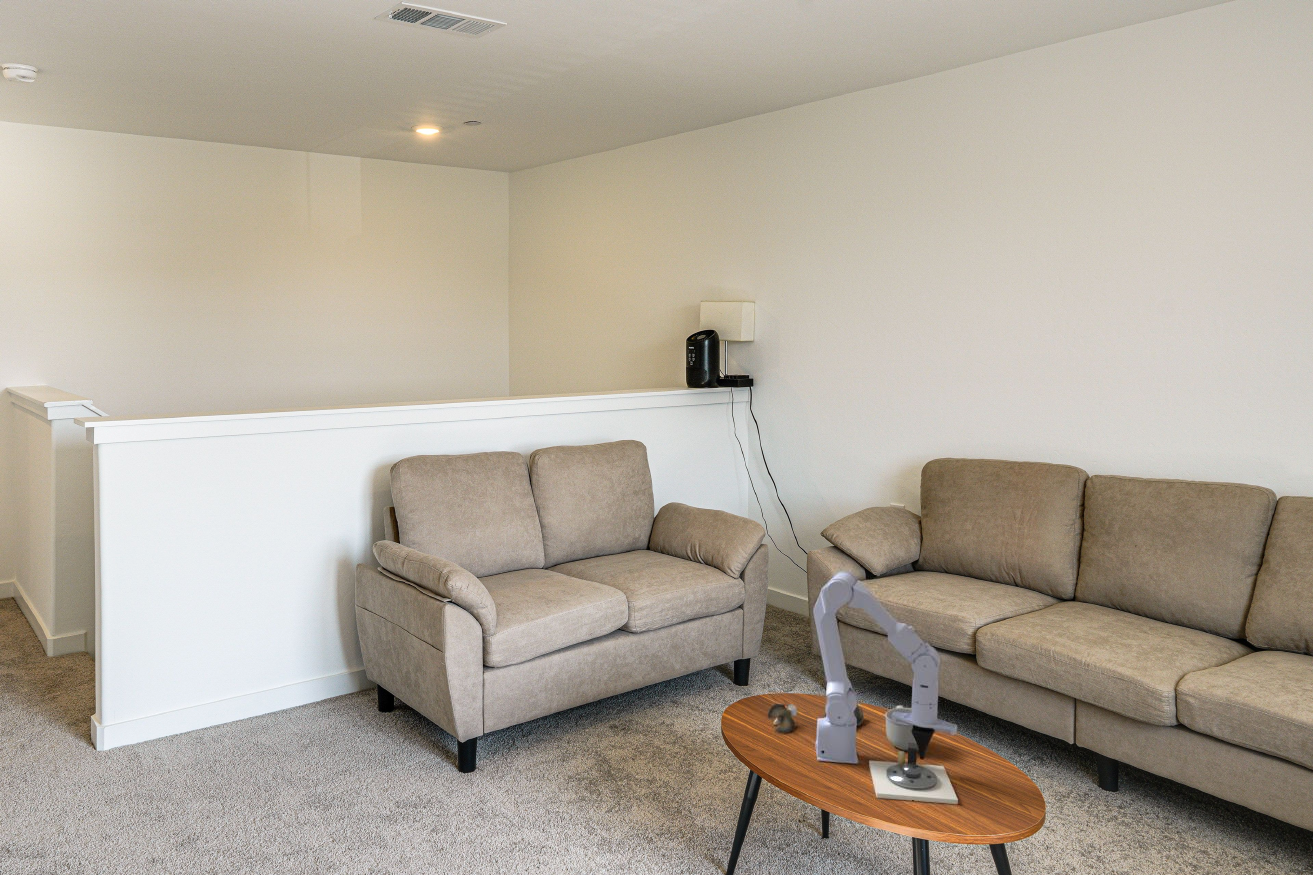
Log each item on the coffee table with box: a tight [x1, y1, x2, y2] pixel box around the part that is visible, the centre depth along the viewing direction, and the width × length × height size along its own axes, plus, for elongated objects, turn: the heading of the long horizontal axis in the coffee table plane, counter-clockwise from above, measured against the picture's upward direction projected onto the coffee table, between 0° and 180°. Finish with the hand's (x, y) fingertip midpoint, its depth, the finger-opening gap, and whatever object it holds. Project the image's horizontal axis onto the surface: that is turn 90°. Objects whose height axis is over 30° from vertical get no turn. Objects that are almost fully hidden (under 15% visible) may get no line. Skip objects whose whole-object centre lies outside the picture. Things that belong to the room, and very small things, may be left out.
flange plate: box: [886, 743, 937, 789], centre depth 208 cm, size 15×11×4 cm
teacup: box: [884, 705, 919, 752], centre depth 229 cm, size 14×11×8 cm
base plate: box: [868, 750, 959, 805], centre depth 206 cm, size 17×17×4 cm
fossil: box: [823, 701, 865, 728], centre depth 242 cm, size 11×9×10 cm
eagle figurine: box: [766, 701, 798, 735], centre depth 238 cm, size 8×7×9 cm
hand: (922, 757), depth 213 cm, fingers closed
